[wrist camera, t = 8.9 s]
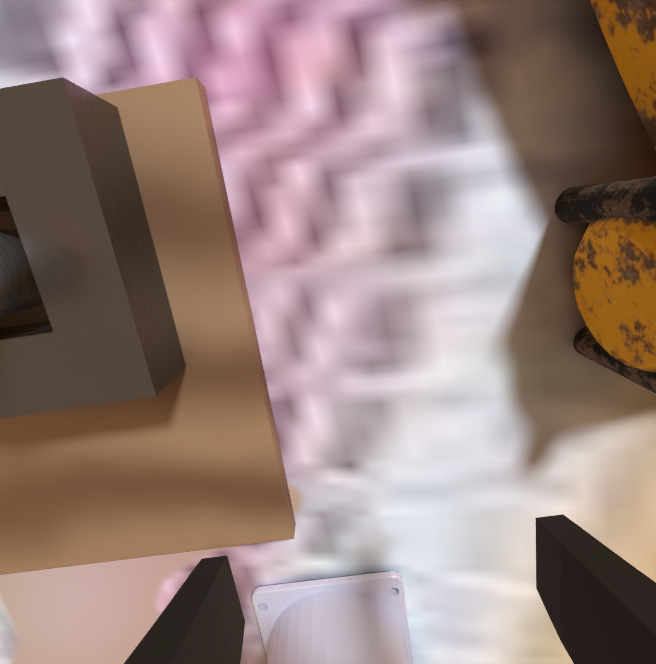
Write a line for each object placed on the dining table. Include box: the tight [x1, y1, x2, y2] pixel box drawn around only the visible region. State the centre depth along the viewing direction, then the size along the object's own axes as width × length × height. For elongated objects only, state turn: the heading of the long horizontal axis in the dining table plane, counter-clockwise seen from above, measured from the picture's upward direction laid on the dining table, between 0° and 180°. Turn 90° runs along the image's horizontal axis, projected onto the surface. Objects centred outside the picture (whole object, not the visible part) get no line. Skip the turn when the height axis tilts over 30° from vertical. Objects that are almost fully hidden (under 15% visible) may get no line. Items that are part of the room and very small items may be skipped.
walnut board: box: [0, 77, 296, 575], centre depth 17 cm, size 20×16×1 cm
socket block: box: [0, 78, 186, 418], centre depth 14 cm, size 10×10×3 cm
